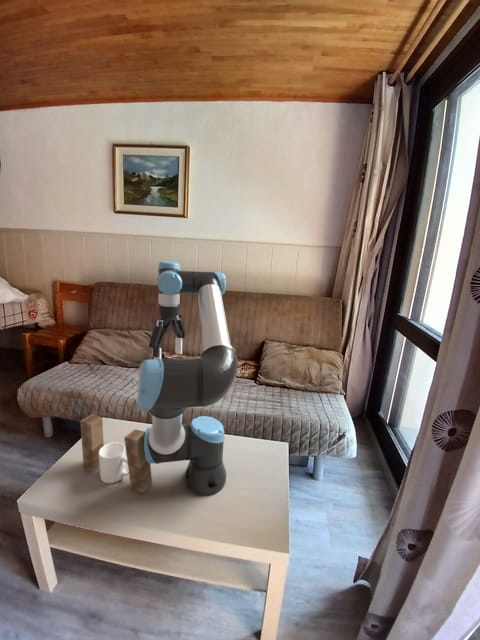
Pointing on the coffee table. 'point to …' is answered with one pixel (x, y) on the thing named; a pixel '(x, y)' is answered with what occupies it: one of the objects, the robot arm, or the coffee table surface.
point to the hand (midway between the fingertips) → (168, 358)
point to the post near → (137, 461)
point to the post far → (91, 441)
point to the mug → (112, 462)
